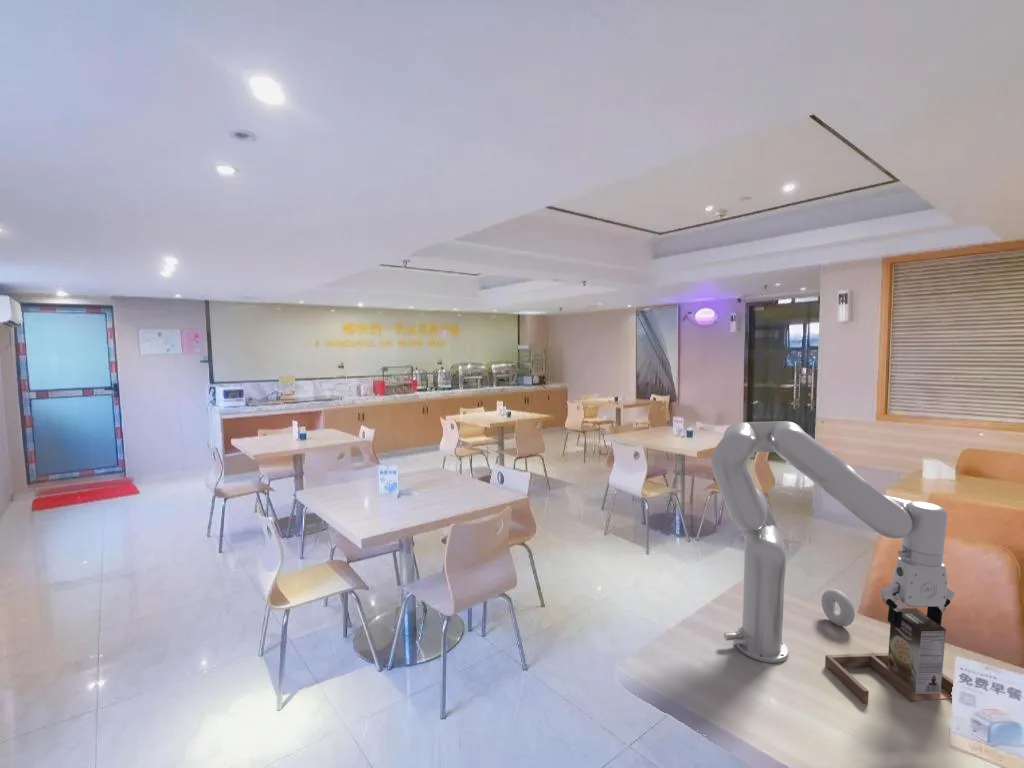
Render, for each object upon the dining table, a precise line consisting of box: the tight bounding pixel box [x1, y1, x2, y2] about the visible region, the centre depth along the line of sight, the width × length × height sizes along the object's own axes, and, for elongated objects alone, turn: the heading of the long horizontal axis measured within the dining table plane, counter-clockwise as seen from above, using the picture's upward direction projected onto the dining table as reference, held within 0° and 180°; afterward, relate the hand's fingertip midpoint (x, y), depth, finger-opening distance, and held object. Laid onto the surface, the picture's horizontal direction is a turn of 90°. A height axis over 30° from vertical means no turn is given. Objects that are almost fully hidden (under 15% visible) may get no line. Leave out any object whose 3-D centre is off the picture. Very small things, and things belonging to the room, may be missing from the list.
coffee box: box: [887, 607, 947, 694], centre depth 118 cm, size 9×6×16 cm
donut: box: [820, 588, 856, 627], centre depth 143 cm, size 10×4×10 cm, turn 12°
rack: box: [824, 652, 954, 705], centre depth 119 cm, size 23×13×3 cm, turn 93°
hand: (913, 624), depth 118 cm, fingers open, 9 cm apart
